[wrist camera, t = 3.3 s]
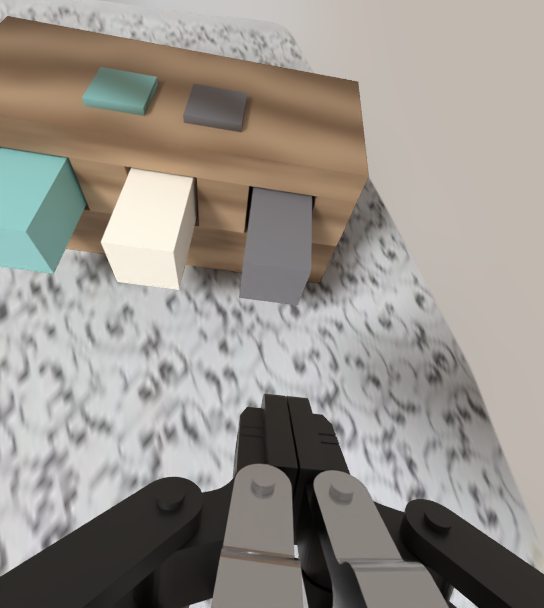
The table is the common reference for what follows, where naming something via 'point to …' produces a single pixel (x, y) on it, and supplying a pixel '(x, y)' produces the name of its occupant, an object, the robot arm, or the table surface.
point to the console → (183, 131)
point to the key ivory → (152, 228)
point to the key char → (277, 246)
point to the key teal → (37, 209)
